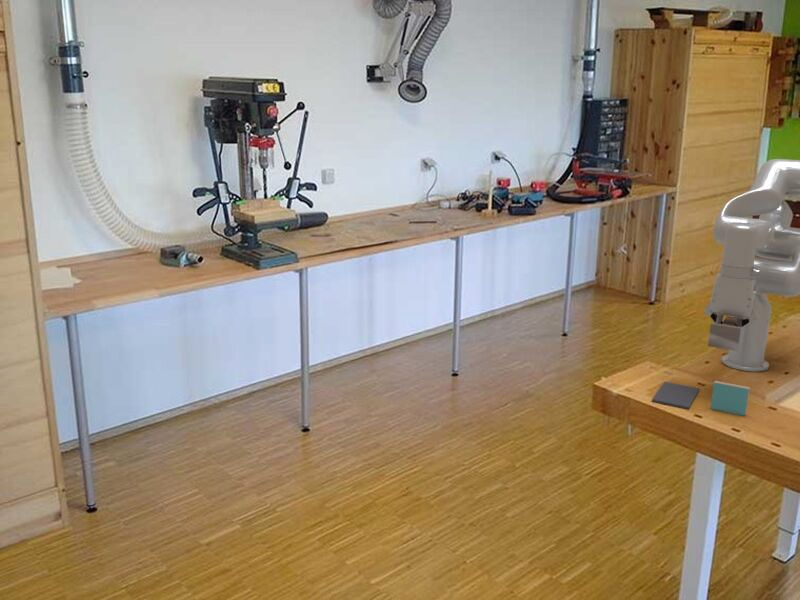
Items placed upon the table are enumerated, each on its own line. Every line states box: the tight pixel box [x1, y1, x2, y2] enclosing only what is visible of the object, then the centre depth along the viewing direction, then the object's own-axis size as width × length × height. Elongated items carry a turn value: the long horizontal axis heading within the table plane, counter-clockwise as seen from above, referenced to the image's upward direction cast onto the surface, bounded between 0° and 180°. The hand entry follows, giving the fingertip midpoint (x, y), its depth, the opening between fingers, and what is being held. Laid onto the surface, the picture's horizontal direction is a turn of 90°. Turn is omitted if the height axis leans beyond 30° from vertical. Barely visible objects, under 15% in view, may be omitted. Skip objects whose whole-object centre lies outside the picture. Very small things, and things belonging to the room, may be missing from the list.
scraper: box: [707, 315, 741, 351], centre depth 202 cm, size 13×7×6 cm, turn 150°
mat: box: [651, 381, 701, 410], centre depth 202 cm, size 15×9×1 cm, turn 150°
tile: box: [709, 380, 751, 417], centre depth 193 cm, size 2×8×7 cm, turn 60°
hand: (727, 339), depth 203 cm, fingers closed on scraper, 3 cm apart
